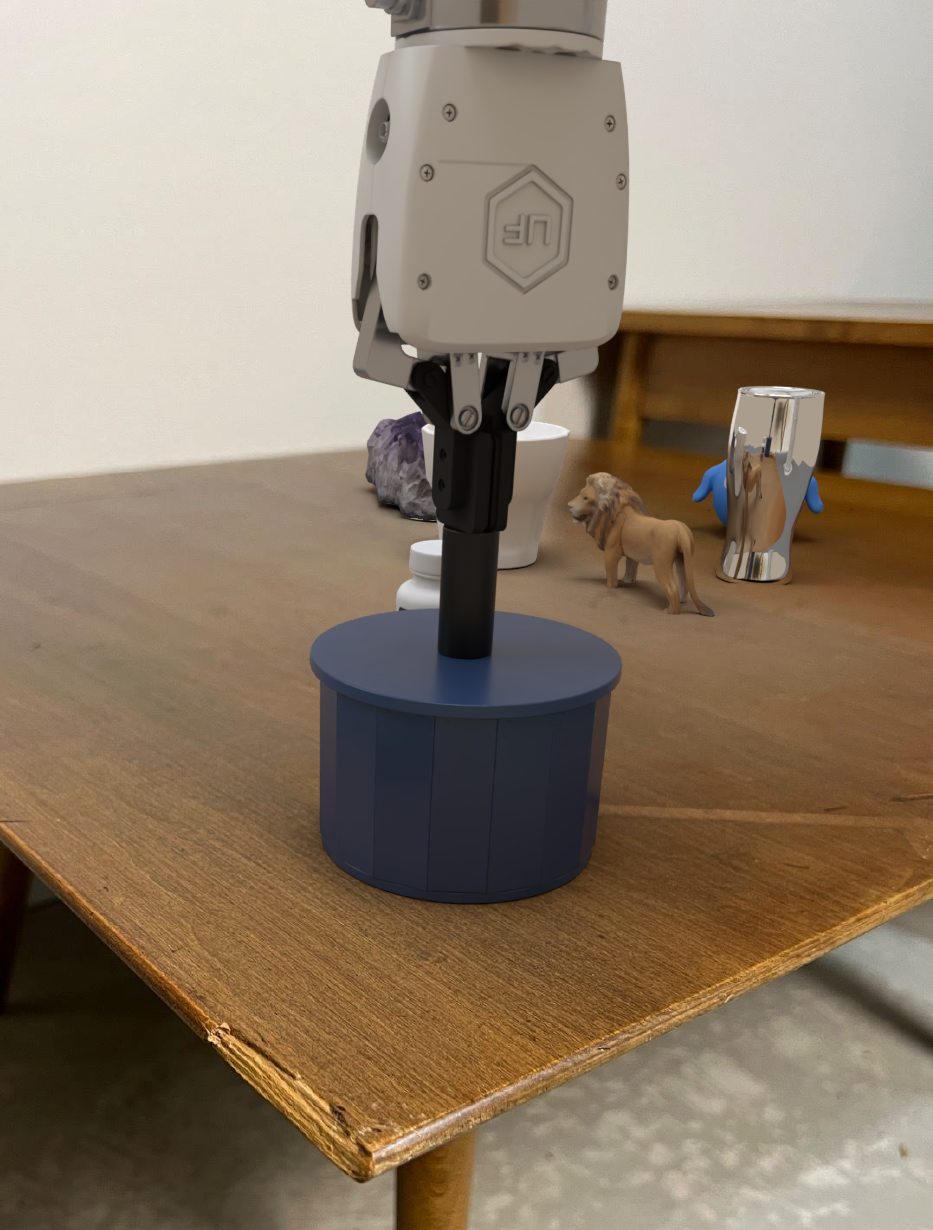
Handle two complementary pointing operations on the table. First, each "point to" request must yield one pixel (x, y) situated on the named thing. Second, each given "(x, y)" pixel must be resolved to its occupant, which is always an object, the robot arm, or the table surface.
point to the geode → (401, 466)
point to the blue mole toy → (717, 484)
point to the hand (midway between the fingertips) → (470, 525)
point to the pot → (459, 799)
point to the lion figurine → (637, 538)
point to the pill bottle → (422, 577)
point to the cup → (522, 488)
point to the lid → (466, 650)
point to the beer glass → (768, 480)
